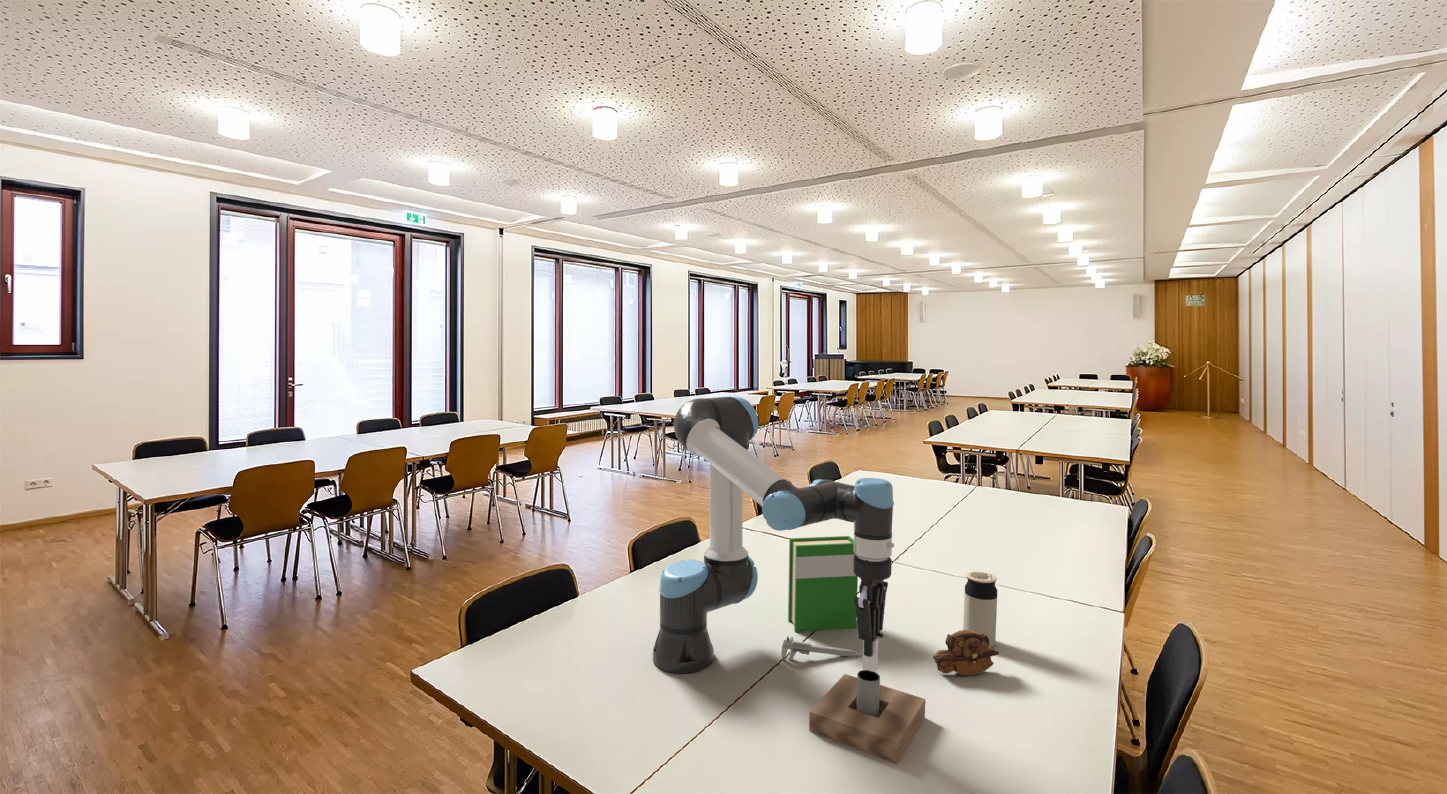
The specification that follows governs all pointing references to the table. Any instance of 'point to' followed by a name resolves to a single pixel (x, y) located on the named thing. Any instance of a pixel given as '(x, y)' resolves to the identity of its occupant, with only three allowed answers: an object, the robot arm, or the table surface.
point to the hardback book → (822, 584)
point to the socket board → (868, 719)
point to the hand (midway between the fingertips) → (870, 668)
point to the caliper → (812, 649)
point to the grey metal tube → (868, 692)
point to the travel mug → (981, 604)
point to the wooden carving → (965, 653)
